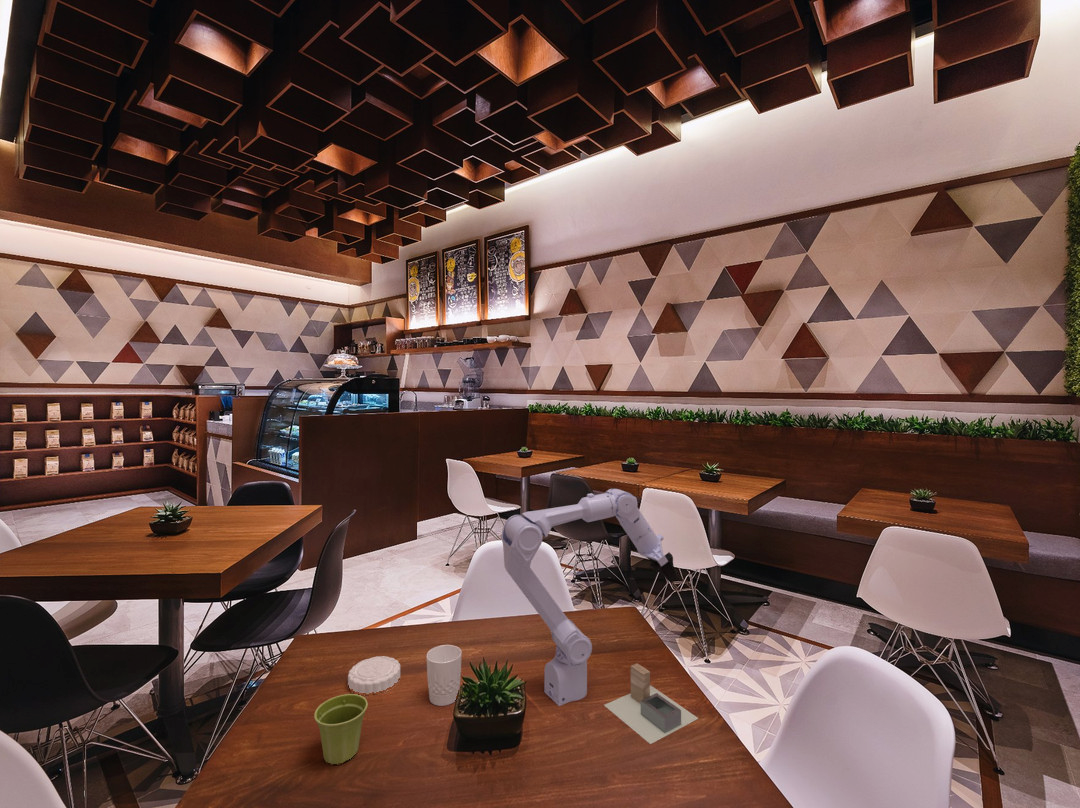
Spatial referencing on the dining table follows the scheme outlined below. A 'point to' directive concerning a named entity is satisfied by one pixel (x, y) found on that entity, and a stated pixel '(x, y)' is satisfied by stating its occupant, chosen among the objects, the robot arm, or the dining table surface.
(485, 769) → the dining table surface
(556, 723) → the dining table surface
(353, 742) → the plant pot
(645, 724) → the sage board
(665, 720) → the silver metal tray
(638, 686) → the wooden block
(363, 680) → the mooncake
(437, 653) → the white cup
